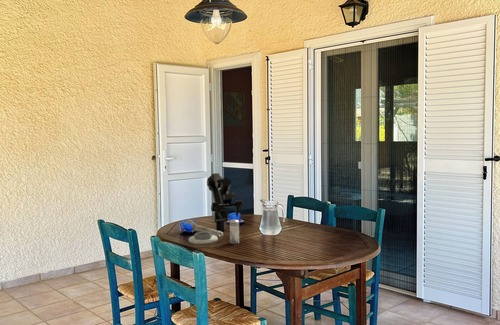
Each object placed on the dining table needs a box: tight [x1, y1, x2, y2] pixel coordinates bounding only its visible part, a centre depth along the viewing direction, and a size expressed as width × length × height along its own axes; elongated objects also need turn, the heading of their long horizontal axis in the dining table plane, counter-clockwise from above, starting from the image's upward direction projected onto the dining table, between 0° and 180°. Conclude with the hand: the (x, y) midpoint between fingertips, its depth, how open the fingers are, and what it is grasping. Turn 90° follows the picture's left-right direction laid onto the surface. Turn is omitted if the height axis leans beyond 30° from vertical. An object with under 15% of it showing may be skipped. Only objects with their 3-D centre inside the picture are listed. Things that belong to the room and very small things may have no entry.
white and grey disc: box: [188, 231, 219, 245], centre depth 271 cm, size 17×17×4 cm
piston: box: [229, 218, 240, 245], centre depth 264 cm, size 5×5×13 cm
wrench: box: [184, 219, 224, 238], centre depth 288 cm, size 8×2×30 cm
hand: (229, 217), depth 271 cm, fingers open, 9 cm apart
